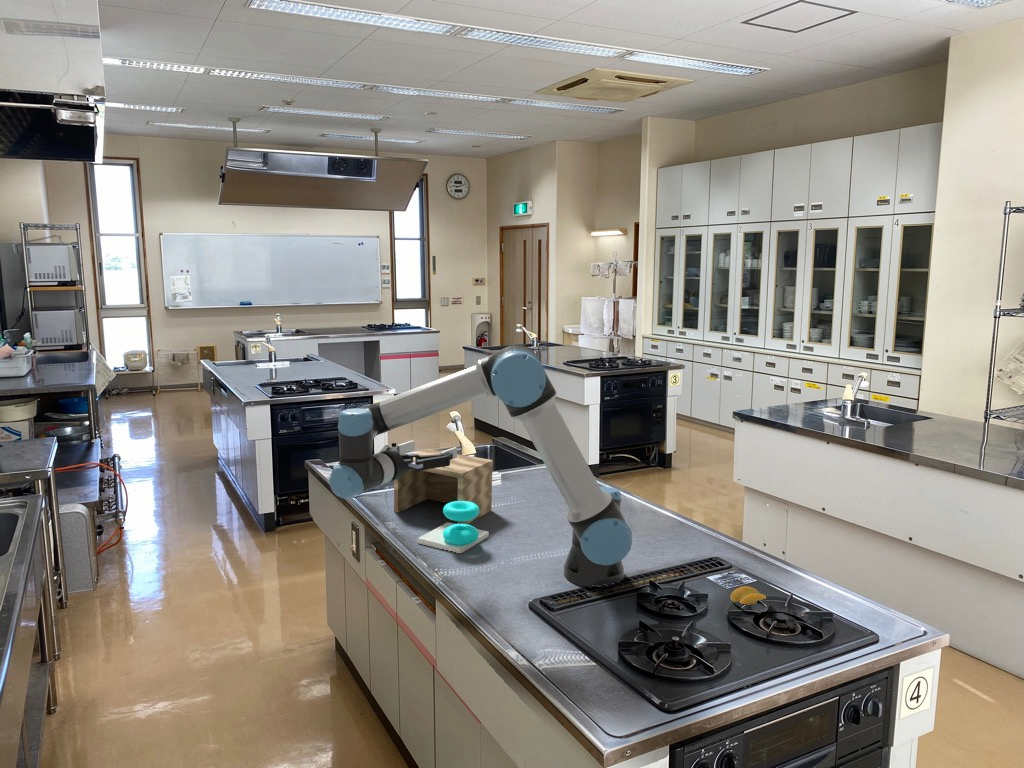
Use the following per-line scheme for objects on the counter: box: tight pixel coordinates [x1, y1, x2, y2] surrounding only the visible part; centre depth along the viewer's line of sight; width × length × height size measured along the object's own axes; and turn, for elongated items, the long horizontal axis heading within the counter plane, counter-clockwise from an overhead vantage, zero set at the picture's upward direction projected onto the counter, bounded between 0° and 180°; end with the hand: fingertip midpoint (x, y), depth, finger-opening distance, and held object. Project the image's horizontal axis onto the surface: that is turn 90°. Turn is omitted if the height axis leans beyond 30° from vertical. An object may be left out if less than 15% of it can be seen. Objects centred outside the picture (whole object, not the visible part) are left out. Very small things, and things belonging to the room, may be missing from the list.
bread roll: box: [730, 585, 767, 605], centre depth 174 cm, size 8×9×4 cm
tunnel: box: [393, 448, 494, 525], centre depth 231 cm, size 18×25×16 cm
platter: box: [417, 522, 490, 554], centre depth 209 cm, size 15×14×2 cm
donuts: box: [442, 501, 479, 545], centre depth 205 cm, size 10×10×10 cm
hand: (434, 448), depth 196 cm, fingers open, 13 cm apart
